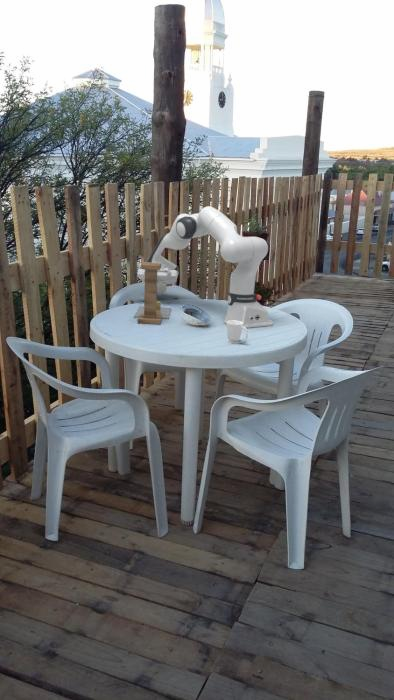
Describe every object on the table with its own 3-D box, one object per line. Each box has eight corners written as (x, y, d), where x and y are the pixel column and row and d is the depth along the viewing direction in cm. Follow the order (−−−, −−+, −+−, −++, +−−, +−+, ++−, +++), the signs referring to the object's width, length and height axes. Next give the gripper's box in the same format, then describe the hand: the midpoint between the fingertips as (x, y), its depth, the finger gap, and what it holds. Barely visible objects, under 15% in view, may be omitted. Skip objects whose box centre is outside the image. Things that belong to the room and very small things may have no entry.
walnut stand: (140, 318, 263) (141, 261, 255) (162, 319, 263) (163, 262, 255) (137, 323, 253) (138, 264, 246) (160, 324, 253) (161, 266, 246)
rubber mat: (139, 307, 285) (139, 306, 285) (171, 308, 285) (171, 307, 285) (134, 317, 264) (134, 316, 264) (168, 319, 264) (168, 318, 264)
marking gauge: (149, 307, 284) (149, 295, 282) (161, 307, 284) (162, 295, 282) (147, 314, 268) (147, 302, 266) (160, 315, 268) (160, 302, 266)
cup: (232, 338, 237) (233, 319, 235) (251, 343, 231) (253, 324, 228) (221, 341, 232) (222, 321, 229) (241, 346, 226) (242, 326, 223)
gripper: (138, 272, 296) (136, 262, 283) (178, 274, 296) (177, 264, 283) (137, 283, 295) (135, 274, 281) (177, 285, 295) (176, 276, 281)
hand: (156, 269), depth 282 cm, fingers open, 8 cm apart
